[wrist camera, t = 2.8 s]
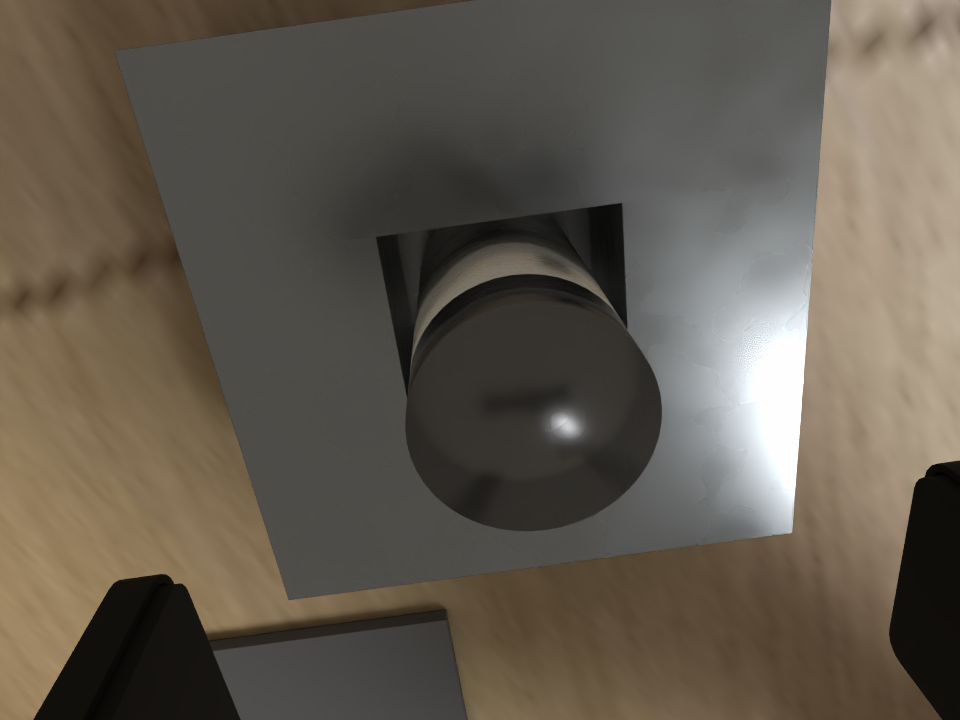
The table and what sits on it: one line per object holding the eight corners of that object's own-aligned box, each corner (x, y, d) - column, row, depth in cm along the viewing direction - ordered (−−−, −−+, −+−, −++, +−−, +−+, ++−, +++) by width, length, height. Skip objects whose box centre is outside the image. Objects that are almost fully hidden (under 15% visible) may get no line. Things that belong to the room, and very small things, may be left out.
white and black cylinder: (570, 188, 22) (659, 288, 13) (581, 338, 24) (664, 514, 15) (408, 210, 22) (383, 325, 13) (433, 358, 24) (427, 545, 15)
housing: (731, -25, 21) (835, -51, 15) (721, 435, 27) (792, 532, 22) (200, 49, 21) (114, 50, 15) (319, 489, 27) (288, 600, 22)
